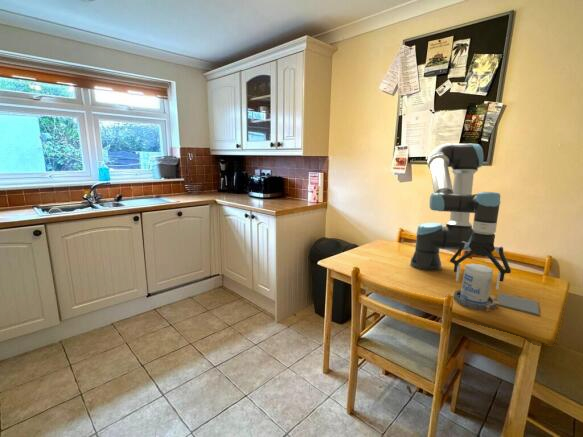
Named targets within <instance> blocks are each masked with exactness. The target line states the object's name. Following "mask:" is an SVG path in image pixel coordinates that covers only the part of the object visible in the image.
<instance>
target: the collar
mask: <svg viewBox="0 0 583 437" xmlns="http://www.w3.org/2000/svg"><path fill="white" fill-rule="evenodd" d="M460 295H461V289H458V290H455V292H454V293H453V300H454V301H455V302H456V303H458V304H459V305H461V306H463V307H465V308H468V309H472V310H475V311H484V312H485V313H487V312H490V311H491V310H494V309H498V307H499V306H498V302H497V301H496V299H494V298H493V297H492V296H491V295H489V298H488V304H487V305H482V304H475V303H471V302H467V301H465V300H463V299H461V298H460Z"/></svg>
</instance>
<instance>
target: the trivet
mask: <svg viewBox="0 0 583 437" xmlns="http://www.w3.org/2000/svg"><path fill="white" fill-rule="evenodd" d="M496 302H498V307H503V308H507V309H511V310H515V311H519V312H523V313H526V314H531V315H535V316H538V317H540V312H539V310H540V309H539V303H538V300H533V299H530V298H525V297H520V296H516V295H511V294H506V293H502V292H498V294H497V300H496Z"/></svg>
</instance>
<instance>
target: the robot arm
mask: <svg viewBox="0 0 583 437" xmlns="http://www.w3.org/2000/svg"><path fill="white" fill-rule="evenodd" d="M483 162H484V150H483V147H482V146H481V145H480V144H478V143H470V142H469V143H467V142H466V143H445V144H441V145H439V146H437V147H436V148H434V149H433V150H432V151H431V152H430V154H429V155H428V157H427V167H428V169H429V170H430V174H431V179H432V180H431V182H432V189H433V193H431V194H430V197H429V209H430V210H431V211H435V212H448V213H449V212H450V215H449V221H447V222H446V224H445V226H443V225H442V223H440V222H439V223H438V222H425V223H424V222H423V223H421V224H419V225H417V229H416V241H415V249H414V252H413V255H412V257H411V260H410V266H412V267H413V268H416V269H419V270H421V271H433V272H436V271H440V270H441V269H442V261H441V256H440V249H441V250H453V251H455V253H454V255H453V256H452V257H451V258H450V260H449V263H451V264H454V266H453V267H454V268H453V272H454V273H456V276H455V281H456V282H458V281H459V279H460V273H461V272H460V271H461V265H462V264H461V263H462V262H463V261H464V260H466V259H467V258H469V257H471V256H472V255H473V254H474V255H475V256H477V257H478V256H481V257H488V258H489V259H490V261H491V263H492V264H493V265H494V266H495V267H496V269H497V270H498V272H497V279H496V284H495V285H496V286H495V290H496V291H499V287H500V282H504V278H505V274H511V272H512V269H511V266H510V264H509V262H508V259H507V258H506V255H505V253H504V247H503V246H495V238H496V234H495V233H496V231H497V225H498V216H499V211H500V205H501V194H500V193H499V192H493V191H479V192H478V193H475V194H473V184H474V174H476V173H477V172H478V170H479V168H482V166H483ZM449 168H450V169H451V172H452V173H453V183H452V179H451V176H450V171H449ZM470 214H474V216H473V222H472V224H471V222H470ZM462 251H463V252H467V253H465V254H463V255H462V256H461V257H459V258H458V259H457V257H458V256H459V255H460V254H461V253H462ZM494 251H496V253H498V255H499V257H500V261H501V262H502V264H503V266H504V268H503V266H502V265H501V263H500V262H499V261H498V259H496V257H495V255H494V253H492V252H494ZM456 259H457V260H456Z"/></svg>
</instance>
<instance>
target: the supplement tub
mask: <svg viewBox="0 0 583 437" xmlns="http://www.w3.org/2000/svg"><path fill="white" fill-rule="evenodd" d="M493 272H494V269H493V268H491V267H489V266H487V265H484V264H478V263H467V264H465V267H464V270H463V276H462V282H461V283H462V284H461V289H460V290H461V295H459V298H461V299H463V300H465V301H467V302H471V303H475V304H482V305H488V304H489V301H488V298H489V296H490V291H491V287H492V280H493V275H494V274H493Z"/></svg>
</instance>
